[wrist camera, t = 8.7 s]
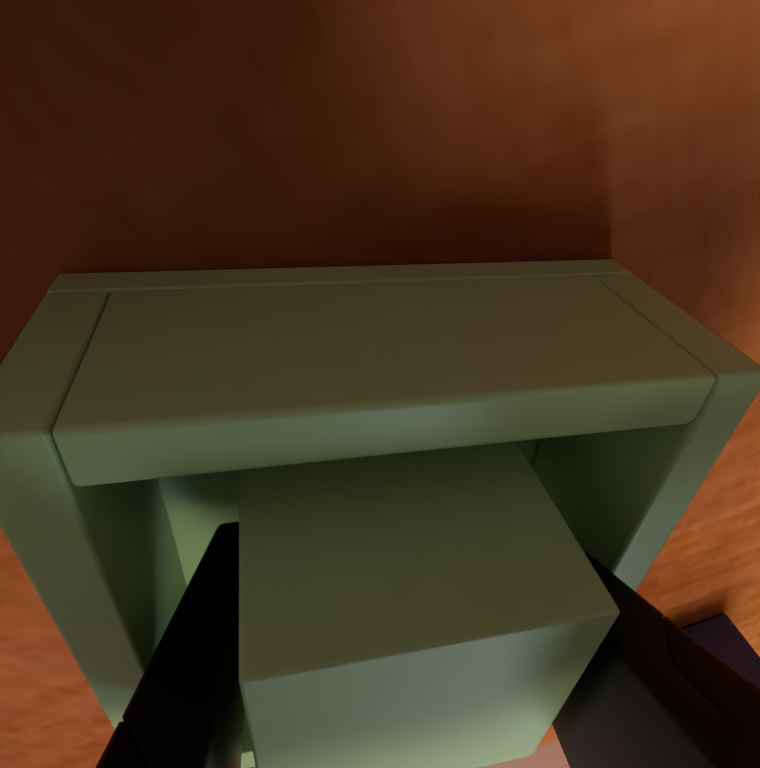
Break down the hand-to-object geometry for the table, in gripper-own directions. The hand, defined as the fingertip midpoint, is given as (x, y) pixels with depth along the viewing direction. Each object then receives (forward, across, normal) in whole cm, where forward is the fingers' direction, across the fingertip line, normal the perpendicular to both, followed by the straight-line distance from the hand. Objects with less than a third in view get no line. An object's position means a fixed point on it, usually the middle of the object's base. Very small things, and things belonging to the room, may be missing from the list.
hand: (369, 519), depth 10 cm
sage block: (+1, 0, 0) cm, 1 cm away
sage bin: (+2, 0, 0) cm, 2 cm away
